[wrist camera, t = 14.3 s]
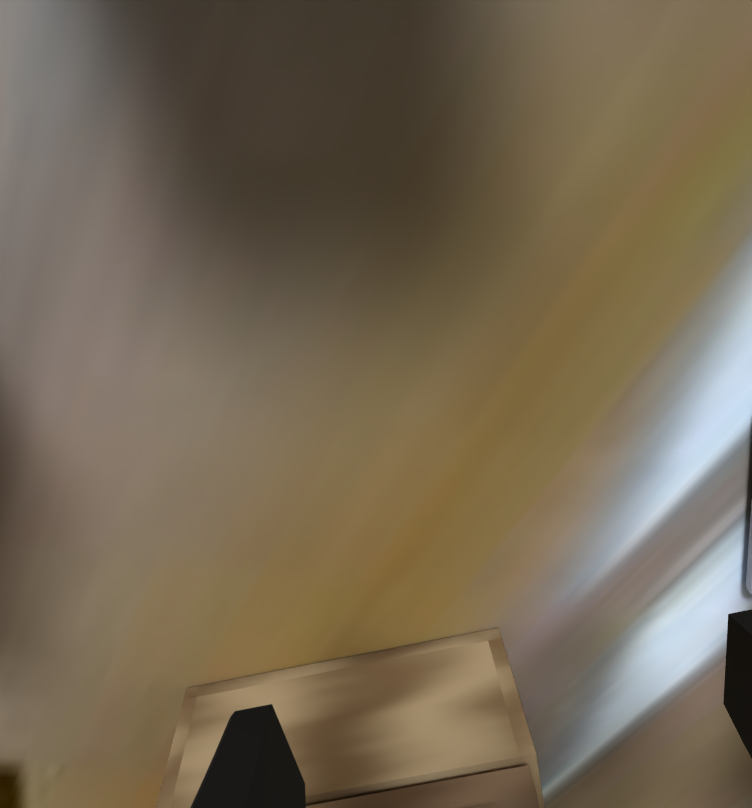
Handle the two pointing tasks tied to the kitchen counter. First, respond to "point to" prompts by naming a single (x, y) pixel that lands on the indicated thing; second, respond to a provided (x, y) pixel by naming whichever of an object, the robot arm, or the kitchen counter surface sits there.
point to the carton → (370, 720)
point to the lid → (455, 793)
